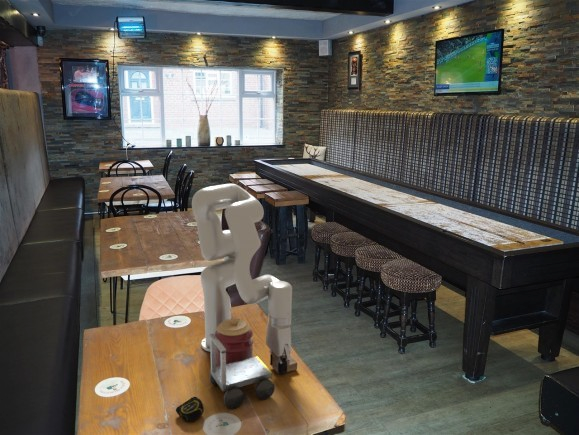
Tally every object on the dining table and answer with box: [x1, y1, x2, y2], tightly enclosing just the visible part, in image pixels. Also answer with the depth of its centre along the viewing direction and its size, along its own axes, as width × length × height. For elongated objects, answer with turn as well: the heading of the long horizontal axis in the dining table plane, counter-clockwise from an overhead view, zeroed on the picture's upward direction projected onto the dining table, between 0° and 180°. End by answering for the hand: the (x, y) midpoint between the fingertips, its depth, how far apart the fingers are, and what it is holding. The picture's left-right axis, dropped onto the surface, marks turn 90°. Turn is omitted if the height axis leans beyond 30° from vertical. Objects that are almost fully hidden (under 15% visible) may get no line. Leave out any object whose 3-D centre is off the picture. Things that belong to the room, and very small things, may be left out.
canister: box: [215, 316, 254, 367], centre depth 164 cm, size 13×13×18 cm
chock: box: [271, 352, 298, 375], centre depth 162 cm, size 5×7×6 cm
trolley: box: [208, 334, 275, 410], centre depth 148 cm, size 14×16×19 cm
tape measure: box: [175, 396, 205, 423], centre depth 137 cm, size 7×7×4 cm
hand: (278, 367), depth 162 cm, fingers closed on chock, 5 cm apart
